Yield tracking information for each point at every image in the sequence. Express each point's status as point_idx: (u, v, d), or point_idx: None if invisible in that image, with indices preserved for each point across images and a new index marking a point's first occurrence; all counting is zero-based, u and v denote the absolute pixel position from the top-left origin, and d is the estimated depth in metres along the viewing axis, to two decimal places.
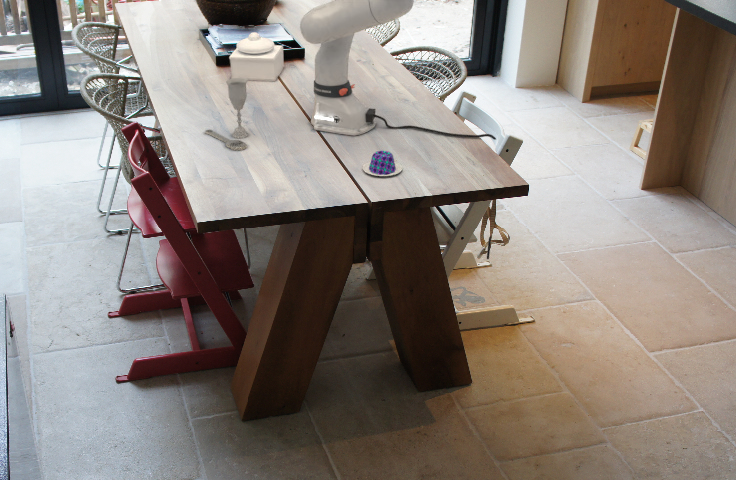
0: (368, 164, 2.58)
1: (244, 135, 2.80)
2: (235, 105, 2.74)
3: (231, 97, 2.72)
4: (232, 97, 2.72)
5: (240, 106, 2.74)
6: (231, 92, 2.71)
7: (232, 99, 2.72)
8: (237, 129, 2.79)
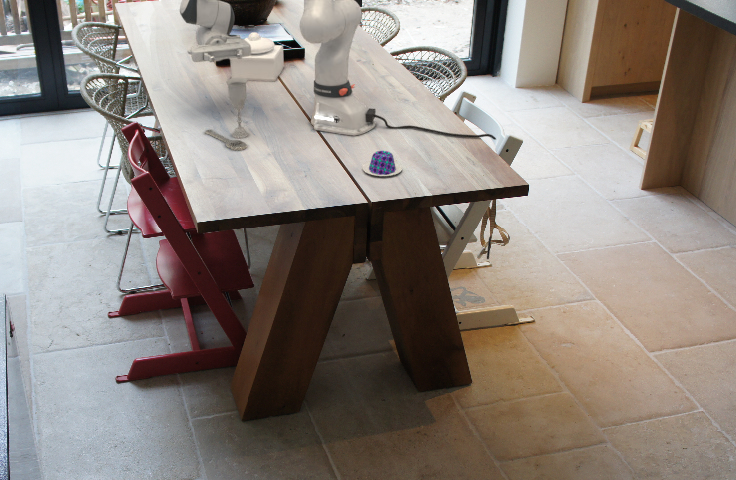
0: (368, 164, 2.58)
1: (244, 135, 2.80)
2: (235, 105, 2.74)
3: (231, 97, 2.72)
4: (232, 97, 2.72)
5: (240, 106, 2.74)
6: (231, 92, 2.71)
7: (232, 99, 2.72)
8: (237, 129, 2.79)
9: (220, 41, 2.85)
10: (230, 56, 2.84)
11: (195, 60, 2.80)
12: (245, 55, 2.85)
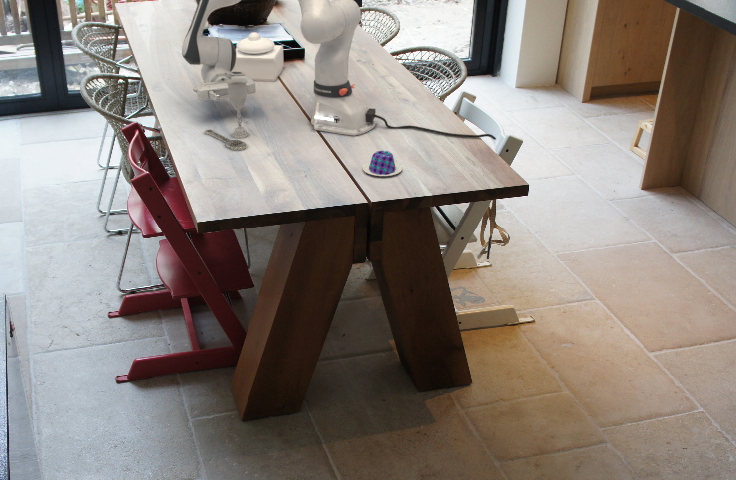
0: (368, 164, 2.58)
1: (244, 135, 2.80)
2: (235, 105, 2.74)
3: (231, 97, 2.72)
4: (232, 97, 2.72)
5: (240, 106, 2.74)
6: (231, 92, 2.71)
7: (232, 99, 2.72)
8: (237, 129, 2.79)
9: (225, 79, 2.90)
10: None
11: (201, 98, 2.85)
12: (250, 92, 2.89)
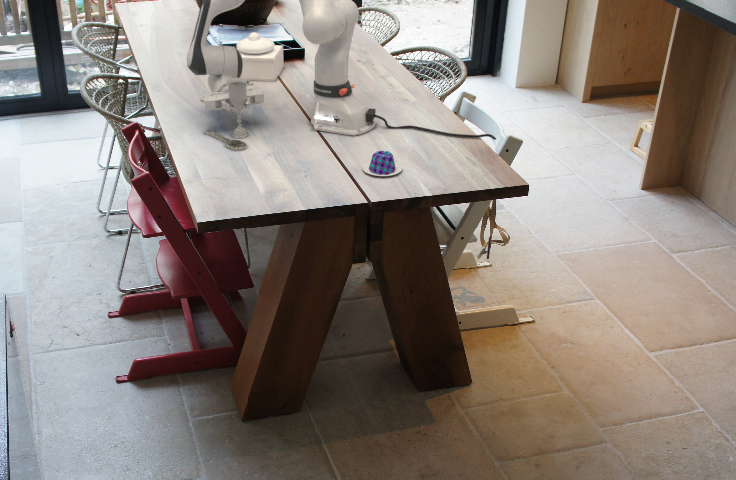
0: (368, 164, 2.58)
1: (244, 135, 2.80)
2: (235, 105, 2.74)
3: (231, 97, 2.72)
4: (232, 97, 2.72)
5: (240, 106, 2.74)
6: (231, 92, 2.71)
7: (232, 99, 2.72)
8: (237, 129, 2.79)
9: None
10: None
11: (208, 108, 2.77)
12: (258, 102, 2.81)
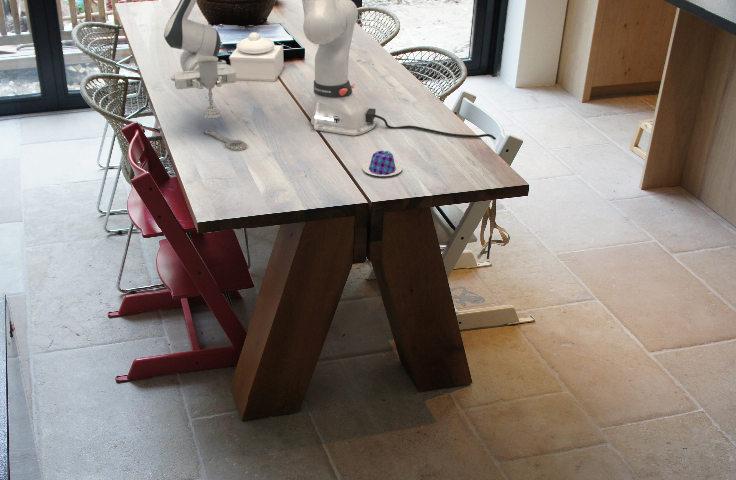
0: (368, 164, 2.58)
1: (216, 115, 2.73)
2: (206, 84, 2.67)
3: (202, 75, 2.65)
4: (202, 75, 2.65)
5: (211, 85, 2.67)
6: (201, 71, 2.64)
7: (203, 77, 2.65)
8: (208, 109, 2.73)
9: None
10: (215, 83, 2.74)
11: (178, 87, 2.70)
12: (230, 81, 2.75)
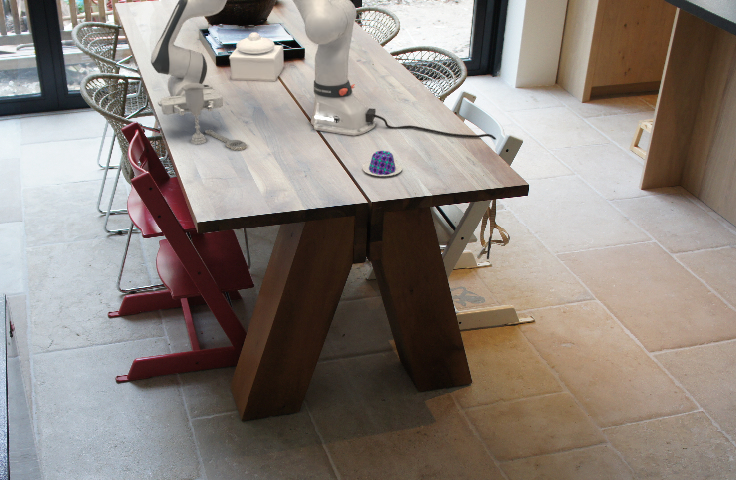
0: (368, 164, 2.58)
1: (202, 141, 2.76)
2: (192, 111, 2.70)
3: (188, 103, 2.68)
4: (189, 103, 2.68)
5: (197, 112, 2.71)
6: (188, 98, 2.67)
7: (189, 105, 2.68)
8: (195, 135, 2.76)
9: None
10: None
11: (165, 112, 2.73)
12: (217, 106, 2.78)
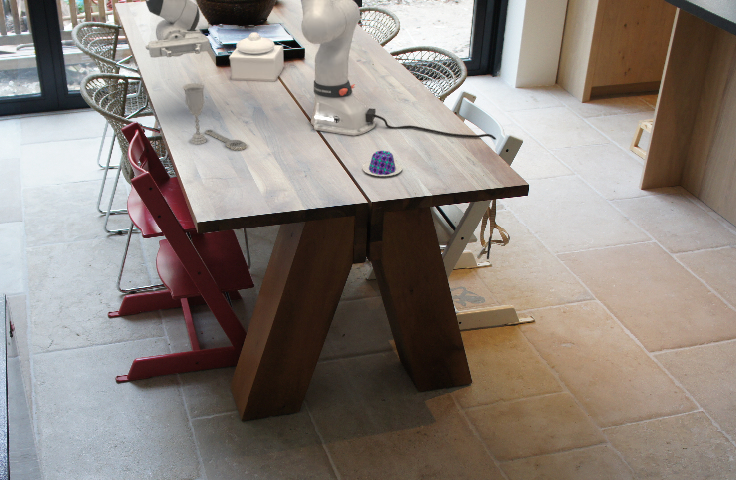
0: (368, 164, 2.58)
1: (202, 141, 2.76)
2: (192, 111, 2.70)
3: (188, 103, 2.68)
4: (189, 103, 2.68)
5: (197, 112, 2.71)
6: (188, 98, 2.67)
7: (189, 105, 2.68)
8: (195, 135, 2.76)
9: (179, 36, 2.80)
10: (189, 51, 2.78)
11: (152, 55, 2.75)
12: (204, 50, 2.79)
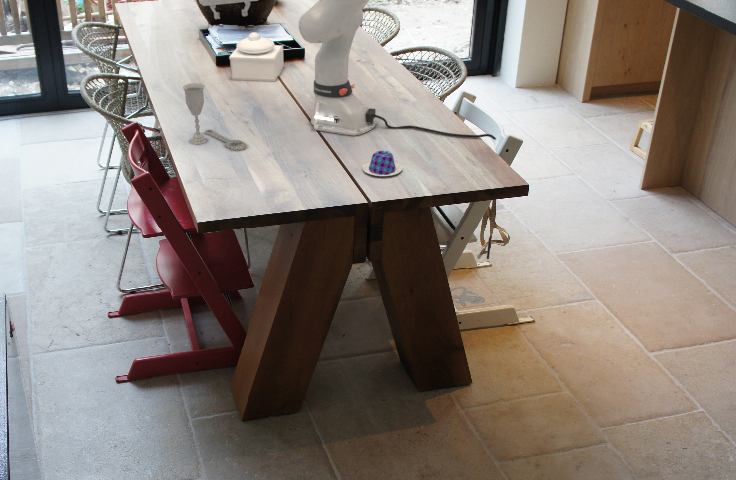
0: (368, 164, 2.58)
1: (202, 141, 2.76)
2: (192, 111, 2.70)
3: (188, 103, 2.68)
4: (189, 103, 2.68)
5: (197, 112, 2.71)
6: (188, 98, 2.67)
7: (189, 105, 2.68)
8: (195, 135, 2.76)
9: None
10: None
11: None
12: None
